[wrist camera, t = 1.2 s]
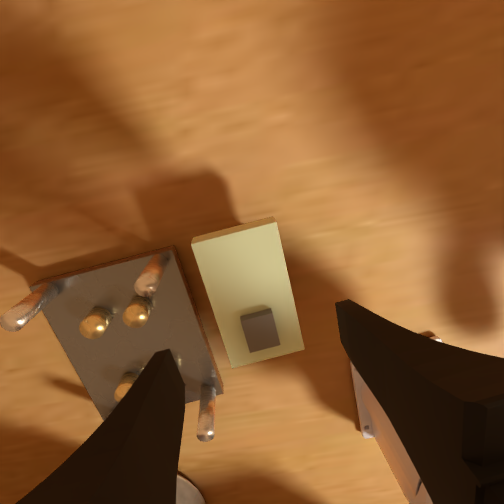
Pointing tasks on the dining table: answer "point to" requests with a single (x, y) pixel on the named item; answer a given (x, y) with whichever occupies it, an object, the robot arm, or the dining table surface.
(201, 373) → the chassis
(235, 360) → the board
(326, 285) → the dining table surface
